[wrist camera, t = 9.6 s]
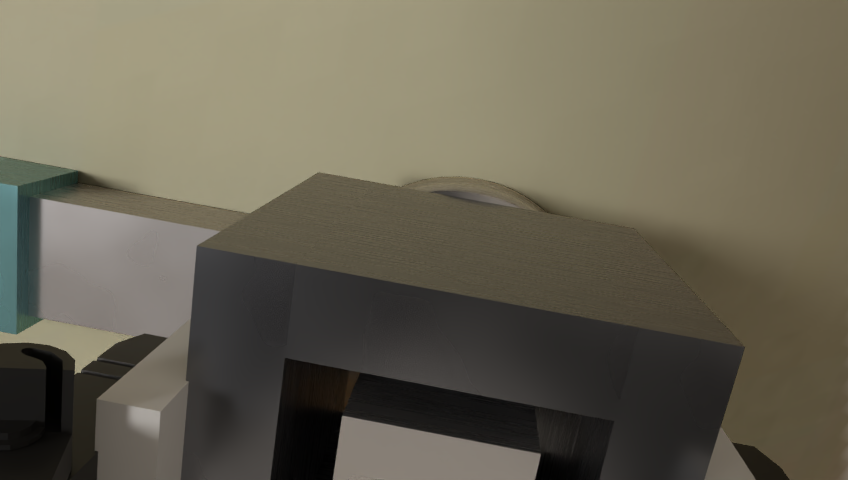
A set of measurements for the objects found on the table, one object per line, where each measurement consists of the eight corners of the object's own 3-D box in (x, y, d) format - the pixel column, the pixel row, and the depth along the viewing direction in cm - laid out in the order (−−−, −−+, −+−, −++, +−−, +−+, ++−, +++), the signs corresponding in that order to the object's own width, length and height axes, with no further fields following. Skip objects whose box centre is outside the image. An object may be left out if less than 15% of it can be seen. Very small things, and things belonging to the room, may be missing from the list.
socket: (318, 172, 14) (196, 245, 8) (634, 228, 13) (745, 347, 8) (283, 449, 15) (161, 678, 10) (565, 505, 15) (613, 776, 9)
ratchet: (-161, 66, 16) (-740, 65, 9) (615, 203, 16) (744, 337, 8) (-147, 313, 18) (-623, 499, 10) (556, 448, 17) (614, 760, 9)
